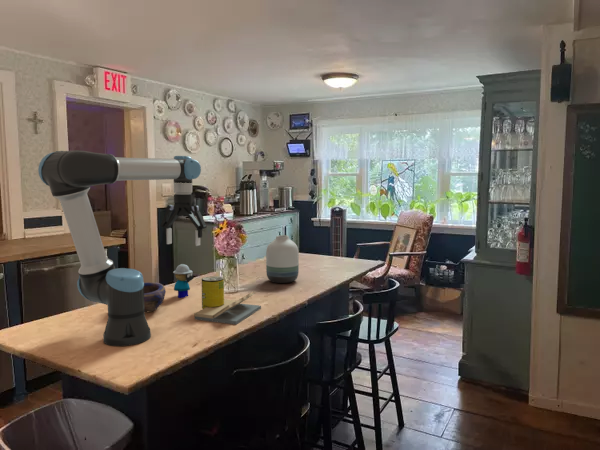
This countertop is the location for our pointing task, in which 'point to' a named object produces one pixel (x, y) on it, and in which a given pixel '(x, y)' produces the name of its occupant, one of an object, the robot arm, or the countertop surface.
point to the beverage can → (212, 292)
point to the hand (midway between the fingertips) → (183, 244)
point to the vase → (282, 260)
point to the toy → (183, 280)
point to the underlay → (227, 313)
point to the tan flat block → (227, 308)
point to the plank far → (246, 297)
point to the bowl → (153, 296)
